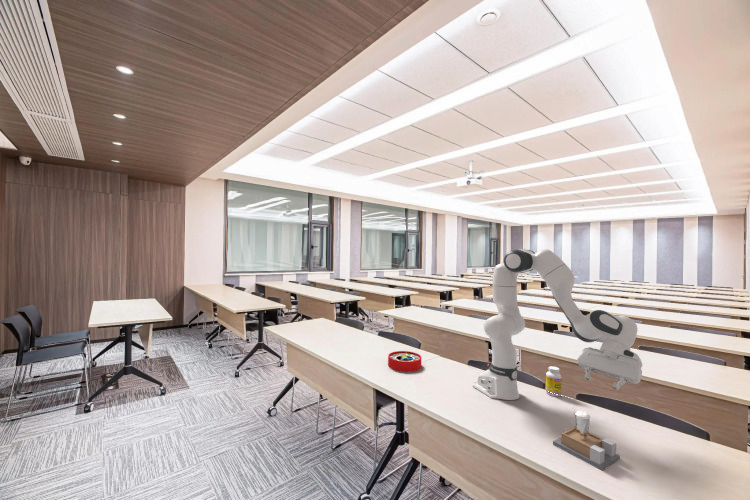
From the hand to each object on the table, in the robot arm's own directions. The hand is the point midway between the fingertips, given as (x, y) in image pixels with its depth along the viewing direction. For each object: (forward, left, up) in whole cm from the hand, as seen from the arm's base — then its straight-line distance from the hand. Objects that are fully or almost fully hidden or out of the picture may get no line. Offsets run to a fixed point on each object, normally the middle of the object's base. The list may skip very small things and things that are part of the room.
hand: (600, 383), depth 120 cm
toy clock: (-98, -18, -22) cm, 102 cm away
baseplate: (+1, -12, -21) cm, 24 cm away
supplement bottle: (-31, +24, -21) cm, 44 cm away
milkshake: (0, -12, -17) cm, 21 cm away
